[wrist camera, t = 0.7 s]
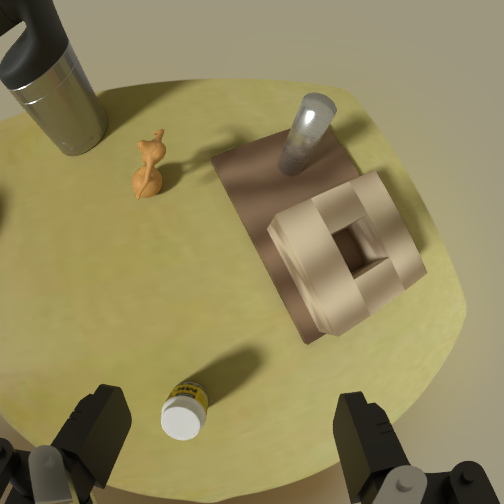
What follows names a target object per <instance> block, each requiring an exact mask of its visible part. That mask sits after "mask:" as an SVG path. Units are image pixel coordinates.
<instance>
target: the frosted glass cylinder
mask: <svg viewBox="0 0 504 504" xmlns="http://www.w3.org/2000/svg"><path fill="white" fill-rule="evenodd" d="M336 111H337V110H336V106H335V104H334V102H333V101H332V100H331V99H330V98H329V97H327V96H325V95H323V94H320V93H309V94H307V95H305V96H304V98H303V100H302V103H301V105H300V108H299V110H298V112H297V115H296V117H295V120H294V122H293V125H292V127H291V130H290V132H289V135H288V137H287V140H286V142H285V144H284V147H283V149H282V152H281V154H280V157H279V159H278V168H279V170H280V171H281V172H282V173H283V174H285V175H287V176H296V175H298V174H299V173H300V172H301V171H302V169H303V167H304V166H305V164H306V163H307V161H308V159H309V158H310V156H311V154H312V153H313V151H314V149H315V148H316V146H317V144H318V143H319V141H320V139H321V138H322V136H323V134H324V133H325V131H326V129H327V128H328V126H329V124H330V123H331V121H332V119H333V118H334V116H335V114H336Z"/></svg>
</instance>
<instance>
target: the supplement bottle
mask: <svg viewBox="0 0 504 504" xmlns="http://www.w3.org/2000/svg"><path fill="white" fill-rule="evenodd" d="M207 409H208V395H207V393H206V391H205V390H204V389H203V388H202V387H201V386H200V385H198V384H196V383H193V382H183V383H180V384H178V385H177V386H175V387H174V389H173V390H172V392H171V393H170V395H169V397H168V398H167V400H166V402H165V403H164V405H163V408H162V417H161V425H162V428H163V429H164V431H165V432H166V433H167V434H168V435H169V436H171V437H172V438H175V439H178V440H189V439H192V438H194V437H195V436H196V435H197V434H198V433H199V431H200V429H201V428H202V427H203V425H204V424H205V421H206V415H207Z"/></svg>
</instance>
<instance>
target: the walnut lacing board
mask: <svg viewBox="0 0 504 504" xmlns="http://www.w3.org/2000/svg"><path fill="white" fill-rule="evenodd" d="M290 130H291V129H288V130H285V131H282V132H279V133H276V134H273V135H270V136H267V137H264V138H262V139H259V140H256V141H253V142H250V143H248V144H245V145H242V146H240V147H237V148H235V149H232V150H229V151H227V152H224V153H222V154H219V155H217V156H214V157H212V158H211V161H212V165H213V167H214V169H215V170H216V172H217V174H218V176H219V178H220V180H221V182H222V184H223V186H224V188H225V190H226V192H227V194H228V196H229V197H230V199H231V201H232V203H233V205H234V207H235V209H236V211H237V213H238V215H239V217H240V219H241V221H242V223H243V225H244V226H245V228H246V230H247V232H248V234H249V236H250V238H251V240H252V242H253V244H254V246H255V248H256V250H257V252H258V254H259V256H260V258H261V259H262V261H263V263H264V265H265V267H266V269H267V271H268V273H269V275H270V277H271V279H272V281H273V283H274V285H275V287H276V289H277V291H278V293H279V295H280V297H281V298H282V300H283V302H284V304H285V306H286V308H287V310H288V312H289V314H290V316H291V318H292V320H293V322H294V324H295V326H296V328H297V330H298V332H299V334H300V336H301V338H302V340H303V342H304V343H305V344H307V345H308V344H310V343H311V342H313V341H315V340H317V339H318V338H320V337H322V336H323V335H325V334H327V333H323V332H319V330H318V328H317V326H316V324H315V322H314V320H313V318H312V316H311V314H310V312H309V310H308V308H307V306H306V304H305V302H304V300H303V298H302V296H301V294H300V292H299V290H298V288H297V286H296V284H295V282H294V280H293V279H292V277H291V275H290V273H289V271H288V269H287V267H286V265H285V263H284V261H283V259H282V257H281V255H280V253H279V251H278V250H277V248H276V246H275V244H274V242H273V240H272V238H271V236H270V234H269V232H268V230H267V228H268V226H269V225H270V223H271V221H272V220H273V218H274V217H275V215H276V214H277V213H280V212H282V211H284V210H286V209H288V208H291V207H293V206H295V205H297V204H299V203H302V202H304V201H306V200H308V199H310V198H313V197H315V196H317V195H319V194H322V193H324V192H326V191H328V190H331V189H333V188H335V187H337V186H340V185H342V184H344V183H346V182H349V181H351V180H353V179H356V178H358V177H360V174H359V173H358V171H357V169H356V168H355V166H354V164H353V163H352V161H351V160H350V158H349V157H348V155H347V153H346V152H345V150H344V149H343V147H342V146H341V144H340V143H339V141H338V140H337V138H336V137H335V135H334V134H333V132H332V131H331V129H330V128H329V127H328V128H327V129H326V131H325V133H324V134H323V136H322V138H321V139H320V141H319V143H318V144H317V146H316V148H315V149H314V151H313V153H312V154H311V156H310V158H309V159H308V161H307V163H306V164H305V166H304V167H303V169H302V171H301V172H300V173H299V174H298V175H296V176H287V175H285V174H283V173H282V172H281V171H280V170H279V168H278V159H279V157H280V154H281V152H282V149H283V147H284V144H285V142H286V140H287V137H288V135H289V132H290ZM332 238H333V240H334V241H335V243H336V245H337V247H338V249H339V251H340V253H341V255H342V257H343V259H344V261H345V263H346V265H347V267H348V269H349V271H350V273H352V272H354V271H356V270H357V269H359V268H361V267H362V266H364V265H366V264H365V262H364V260H363V258H362V256H361V254H360V252H359V250H358V248H357V247H356V245H355V243H354V241H353V239H352V237H351V235H350V233H349V231H348V229H347V228H345V229H344V230H342V231H340V232H338V233H336V234H334V235H332Z"/></svg>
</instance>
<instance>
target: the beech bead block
mask: <svg viewBox="0 0 504 504" xmlns="http://www.w3.org/2000/svg"><path fill="white" fill-rule="evenodd" d="M345 228H347V229H348V231H349V233H350V235H351V237H352V239H353V241H354V243H355V245H356V247H357V248H358V250H359V252H360V254H361V256H362V258H363V260H364V262H365V264H366V265H364V266H362V267H361V268H359V269H357V270H356V271H354V272H352V273H350V271H349V269H348V267H347V265H346V263H345V261H344V259H343V257H342V255H341V253H340V251H339V249H338V247H337V245H336V243H335V241H334V240H333V238H332V235H334V234H336V233H338V232H340V231H342V230H344V229H345ZM267 230H268V232H269V234H270V236H271V238H272V240H273V242H274V244H275V246H276V248H277V250H278V251H279V253H280V255H281V257H282V259H283V261H284V263H285V265H286V267H287V269H288V271H289V273H290V275H291V277H292V279H293V280H294V282H295V284H296V286H297V288H298V290H299V292H300V294H301V296H302V298H303V300H304V302H305V304H306V306H307V308H308V310H309V312H310V314H311V316H312V318H313V320H314V322H315V324H316V326H317V328H318V330H319V332H323V333H327V334H330V335H334V336H340V335H342V334H343V333H345V332H346V331H348V330H349V329H351V328H352V327H354V326H355V325H357V324H359V323H360V322H362V321H363V320H364V319H366V318H367V317H369V316H370V315H372V314H373V313H375V312H376V311H378V310H379V309H380V308H382V307H383V306H385V305H386V304H387V303H389V302H390V301H392V300H393V299H394V298H396V297H397V296H398V295H400V294H401V293H402V292H404V291H405V290H406V289H408V288H409V287H410V286H412V285H413V284H414V283H415V282H417V281H418V280H419V279H420V278H422V277H423V276H424V275H425V274H427V271H426V268H425V266H424V264H423V261H422V259H421V257H420V255H419V252H418V250H417V248H416V246H415V244H414V242H413V240H412V237H411V235H410V233H409V231H408V229H407V227H406V225H405V223H404V221H403V219H402V217H401V216H400V214H399V212H398V210H397V208H396V206H395V204H394V202H393V201H392V199H391V197H390V195H389V193H388V192H387V190H386V188H385V186H384V185H383V183H382V181H381V179H380V178H379V176H378V174H377V173H376V171H375V170H374V171H372V172H369V173H367V174H365V175H362V176H360V177H358V178H356V179H353V180H351V181H349V182H346V183H344V184H342V185H340V186H337V187H335V188H333V189H331V190H328V191H326V192H324V193H322V194H319V195H317V196H315V197H313V198H310V199H308V200H306V201H304V202H302V203H299V204H297V205H295V206H293V207H291V208H288V209H286V210H284V211H282V212H280V213H277V214H276V215H275V217H274V218H273V220H272V221H271V223H270V225H269V226H268V228H267Z"/></svg>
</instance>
